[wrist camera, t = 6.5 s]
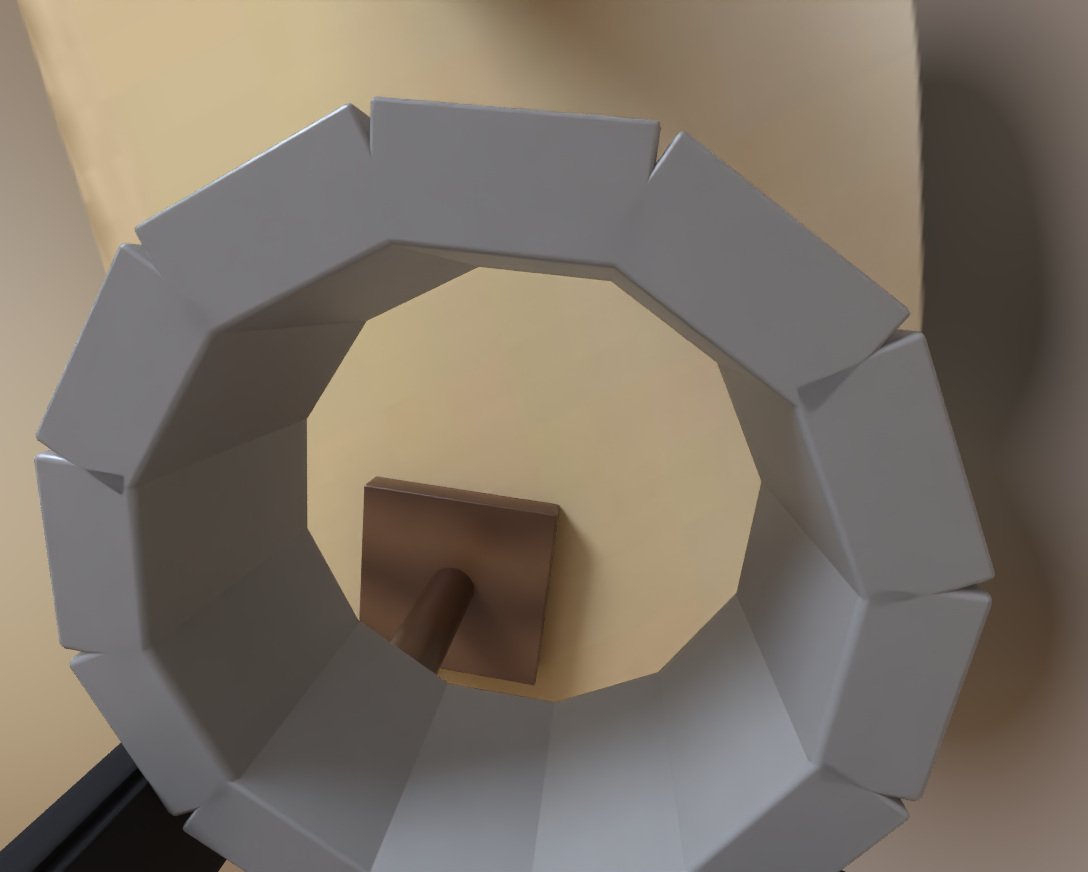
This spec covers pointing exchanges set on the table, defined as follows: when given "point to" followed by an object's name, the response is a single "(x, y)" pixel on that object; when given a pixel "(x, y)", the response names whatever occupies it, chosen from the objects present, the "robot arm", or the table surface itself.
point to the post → (457, 576)
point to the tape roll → (396, 678)
